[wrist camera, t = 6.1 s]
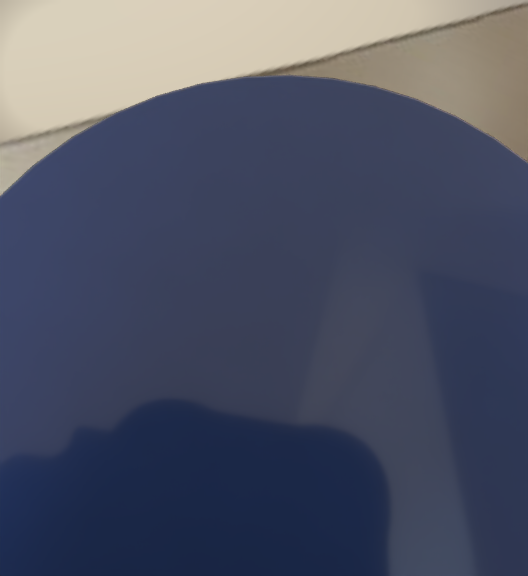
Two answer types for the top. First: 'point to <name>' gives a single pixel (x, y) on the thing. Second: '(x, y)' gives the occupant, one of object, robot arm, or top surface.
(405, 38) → the top surface
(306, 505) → the tall blue cylinder
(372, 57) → the top surface
